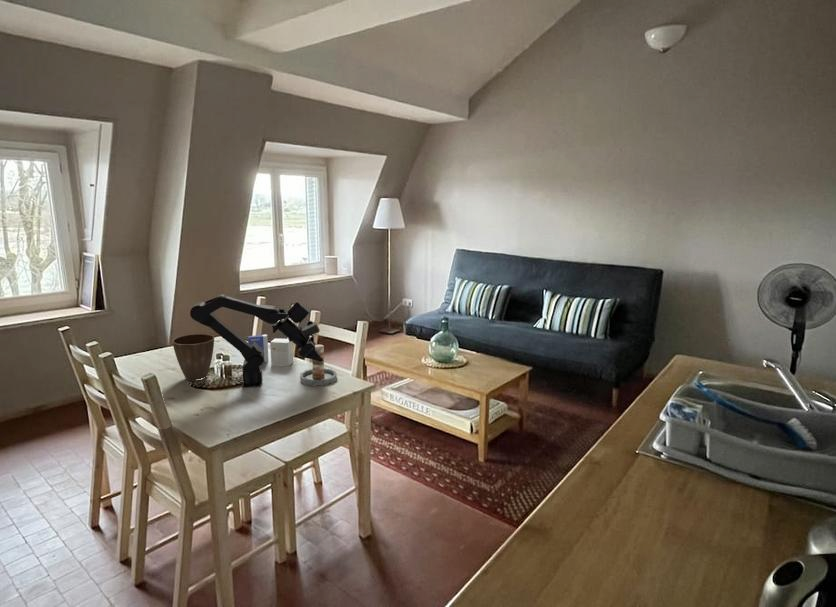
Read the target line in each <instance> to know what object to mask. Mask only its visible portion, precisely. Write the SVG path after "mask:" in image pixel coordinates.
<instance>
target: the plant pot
mask: <svg viewBox="0 0 836 607" xmlns="http://www.w3.org/2000/svg"><path fill="white" fill-rule="evenodd" d="M171 342H172V346H173V350H174V354H175V358H176V360H177V363H178V365H179V367H180V370H181V372H182V374H183V376H184V378H185V379H187V380H186V381H188V380H196V379H201V378H204V377H206V376H207V377H208V374H209V371H210V368H211V365H212V360H213V354H214V346H215V336H214V335H211V334H208V333H207V334H206V333H194V334H192V333H191V334H187V335H181V336H177V337H176V338H173V339H172V341H171ZM207 377H206V378H207Z"/></svg>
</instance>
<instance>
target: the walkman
mask: <svg viewBox="0 0 836 607" xmlns="http://www.w3.org/2000/svg"><path fill="white" fill-rule="evenodd" d="M247 342H248V343H250V344H253V343H254V342H256V343H257V344H258V345H259V346H260V347H262V348H263V349H262V350H263V351H264V355H265V356H264V362H263V363H268V362H269V347H268V346H269V338H268V334H258V335H248V336H247Z"/></svg>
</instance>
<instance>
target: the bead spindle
mask: <svg viewBox="0 0 836 607" xmlns="http://www.w3.org/2000/svg"><path fill="white" fill-rule="evenodd" d="M324 349H325V348H324V345H323V344H316V345H315V350H316V351H317V353H318V354H319V355H320V356H321V358H322V359H323V361H322V362H320V361H316V360H312V359H311V360H312V369H313V374H312V378H313V379H314V380H321V379H324V378H325V373H324V368H325V356H324V355H325V354H324V352H325V350H324Z"/></svg>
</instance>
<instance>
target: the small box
mask: <svg viewBox="0 0 836 607" xmlns="http://www.w3.org/2000/svg"><path fill="white" fill-rule="evenodd" d="M293 344H294V343H293V342H292V341H291V342H290V341H289V339H288V338H274V339H272V340H271V341H270V342H269V348H270V362H271V363H270V364H271V366H279V367H280V366H281V367H282V366H284V367H289V366H290V365H292V363H293V362H294V350H293V348H294V347H293Z"/></svg>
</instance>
